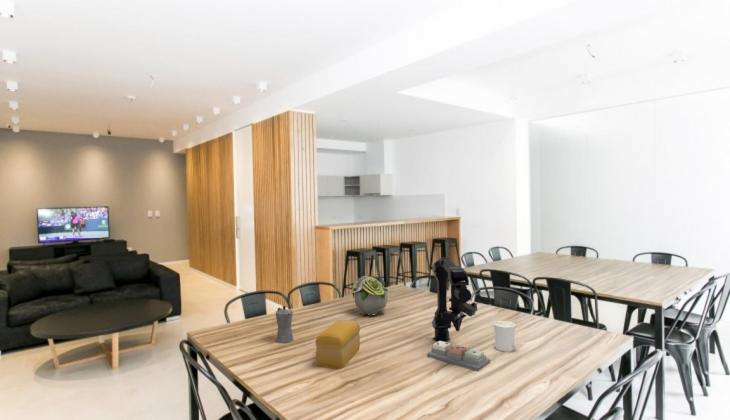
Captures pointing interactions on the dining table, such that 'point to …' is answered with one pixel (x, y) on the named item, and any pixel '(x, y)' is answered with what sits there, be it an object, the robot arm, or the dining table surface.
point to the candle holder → (504, 335)
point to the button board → (458, 359)
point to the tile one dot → (474, 354)
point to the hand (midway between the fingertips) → (457, 330)
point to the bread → (338, 344)
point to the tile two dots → (442, 345)
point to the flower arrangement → (370, 294)
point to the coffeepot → (284, 325)
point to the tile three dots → (457, 350)
